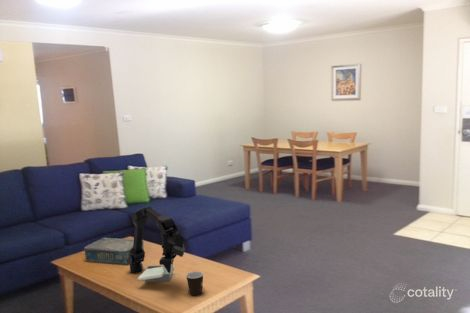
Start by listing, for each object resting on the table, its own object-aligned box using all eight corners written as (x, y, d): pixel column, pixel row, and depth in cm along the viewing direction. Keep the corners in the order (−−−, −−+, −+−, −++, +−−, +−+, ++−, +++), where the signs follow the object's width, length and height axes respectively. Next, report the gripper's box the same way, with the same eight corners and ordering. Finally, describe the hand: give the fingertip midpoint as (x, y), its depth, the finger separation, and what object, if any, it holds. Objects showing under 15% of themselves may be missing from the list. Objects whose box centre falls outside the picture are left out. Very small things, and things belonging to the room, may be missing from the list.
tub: (144, 283, 234) (143, 272, 233) (148, 276, 243) (147, 265, 242) (170, 282, 233) (169, 271, 232) (173, 275, 242) (172, 265, 241)
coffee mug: (197, 298, 213) (196, 279, 212) (184, 295, 217) (182, 276, 216) (211, 289, 223) (209, 270, 221) (197, 286, 227) (196, 268, 226)
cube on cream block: (138, 281, 226) (135, 274, 225) (147, 272, 234) (145, 265, 234) (169, 277, 219) (166, 269, 218) (177, 267, 227) (174, 260, 227)
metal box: (104, 250, 291) (103, 236, 290) (145, 254, 281) (144, 239, 279) (84, 262, 272) (82, 247, 270) (127, 266, 261) (126, 250, 260)
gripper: (180, 248, 212) (182, 277, 214) (186, 236, 230) (188, 263, 232) (157, 249, 212) (160, 278, 214) (165, 236, 231) (167, 264, 233)
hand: (170, 271), depth 223 cm, fingers closed on cube on cream block, 4 cm apart
